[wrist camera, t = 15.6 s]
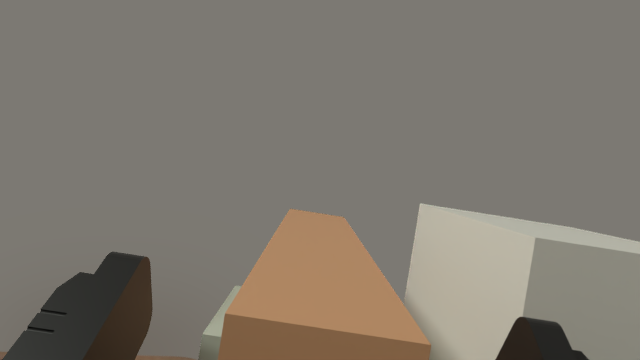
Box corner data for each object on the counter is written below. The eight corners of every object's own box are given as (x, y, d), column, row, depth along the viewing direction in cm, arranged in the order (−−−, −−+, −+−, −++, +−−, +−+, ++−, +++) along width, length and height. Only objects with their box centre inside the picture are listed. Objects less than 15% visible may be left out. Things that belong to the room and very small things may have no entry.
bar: (398, 548, 9) (431, 344, 9) (192, 518, 9) (225, 313, 9) (335, 270, 35) (343, 217, 35) (281, 262, 35) (290, 208, 35)
